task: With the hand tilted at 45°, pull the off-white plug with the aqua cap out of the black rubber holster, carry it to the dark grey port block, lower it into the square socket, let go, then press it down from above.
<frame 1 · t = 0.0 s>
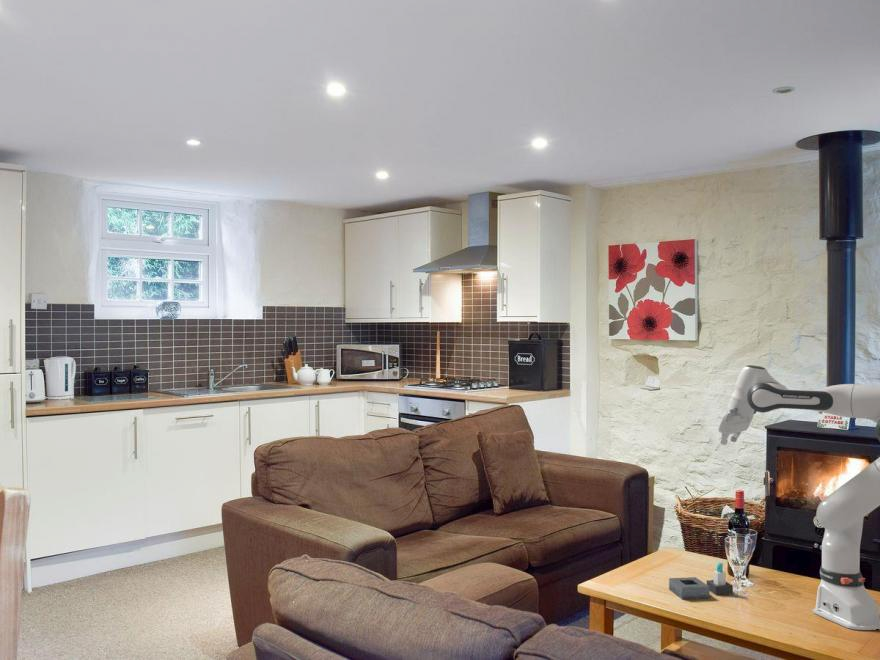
hand: (728, 442, 273), 52 cm above the table, tool tilted 20°, fingers open, 8 cm apart
holster: (719, 591, 267), on the table
plug: (719, 577, 267), in the holster
port block: (688, 593, 264), on the table
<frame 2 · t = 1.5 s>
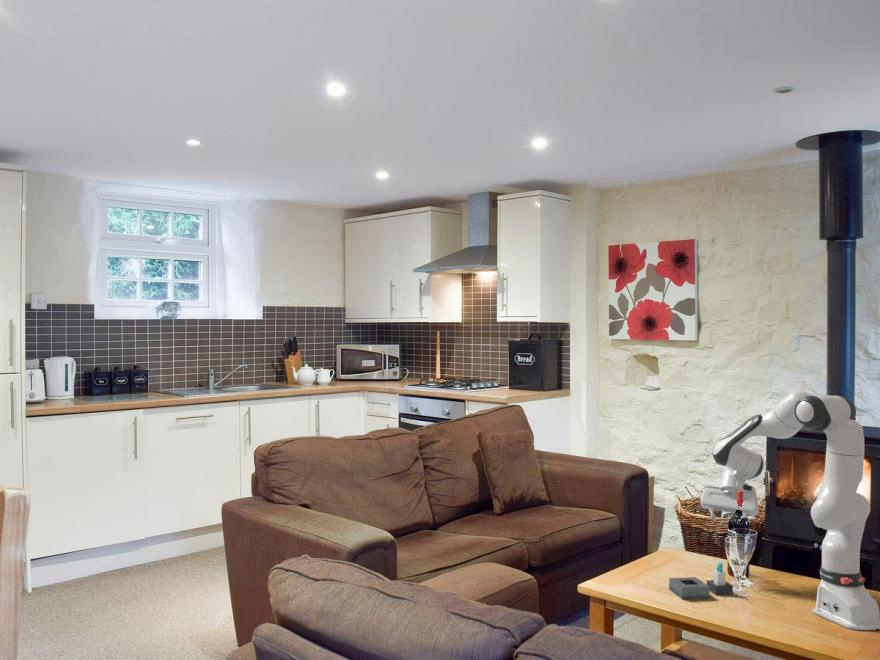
hand: (726, 520, 277), 22 cm above the table, tool tilted 45°, fingers open, 8 cm apart
nothing on the table moved.
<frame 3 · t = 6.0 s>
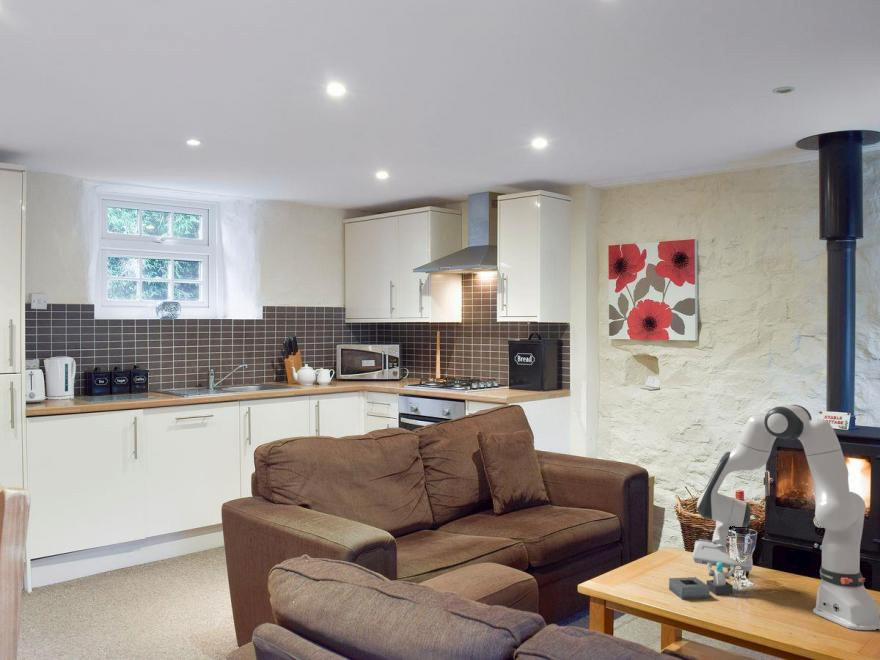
hand: (719, 576, 266), 5 cm above the table, tool tilted 45°, fingers closed on plug, 4 cm apart
plug: (719, 577, 267), in the holster, touching gripper
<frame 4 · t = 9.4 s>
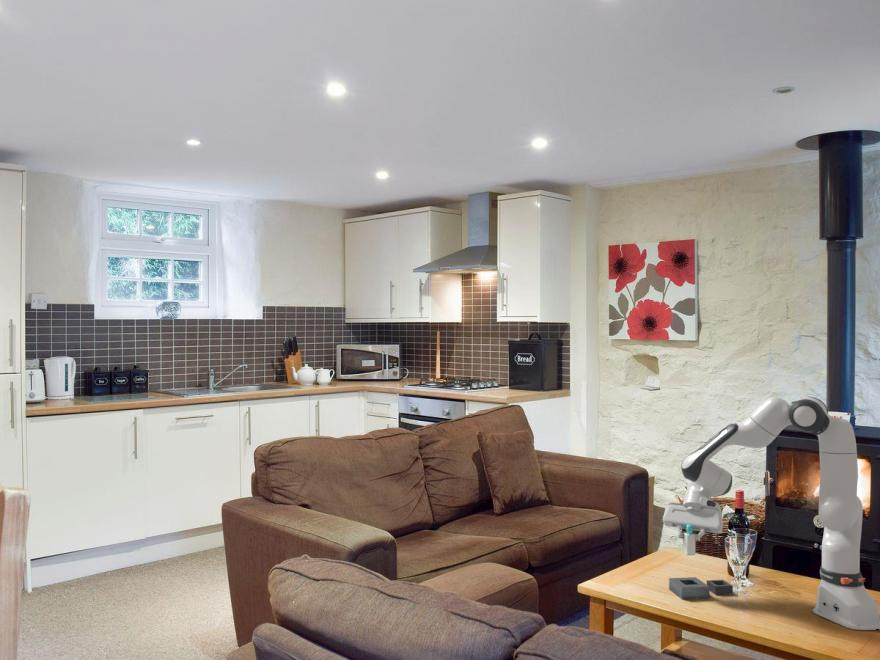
hand: (688, 538, 264), 19 cm above the table, tool tilted 45°, fingers closed on plug, 4 cm apart
plug: (689, 539, 264), point 19 cm above the table, touching gripper
when the fingers open (7 cm above the table, at t = 12.6 s): plug drops 1 cm, resting in port block.
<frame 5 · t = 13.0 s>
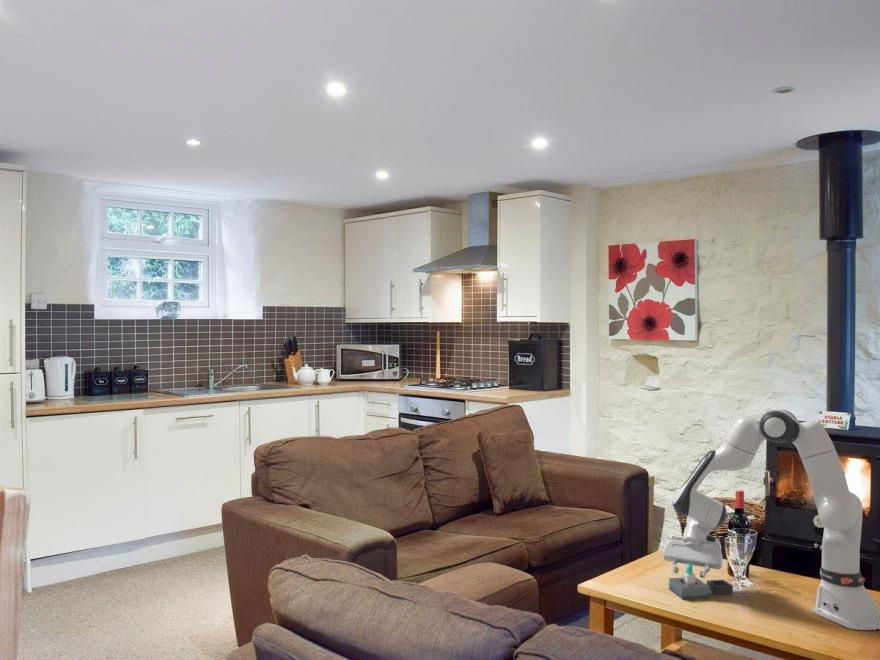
hand: (688, 574, 263), 7 cm above the table, tool tilted 45°, fingers open, 8 cm apart
plug: (689, 579, 264), in the port block
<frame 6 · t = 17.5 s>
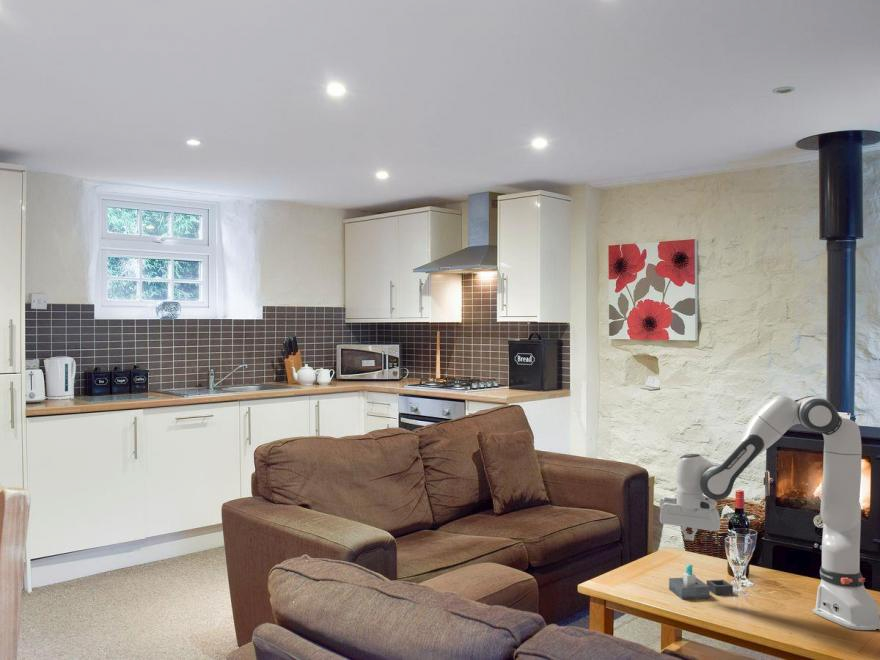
hand: (689, 539, 264), 19 cm above the table, tool pointing down, fingers closed
nothing on the table moved.
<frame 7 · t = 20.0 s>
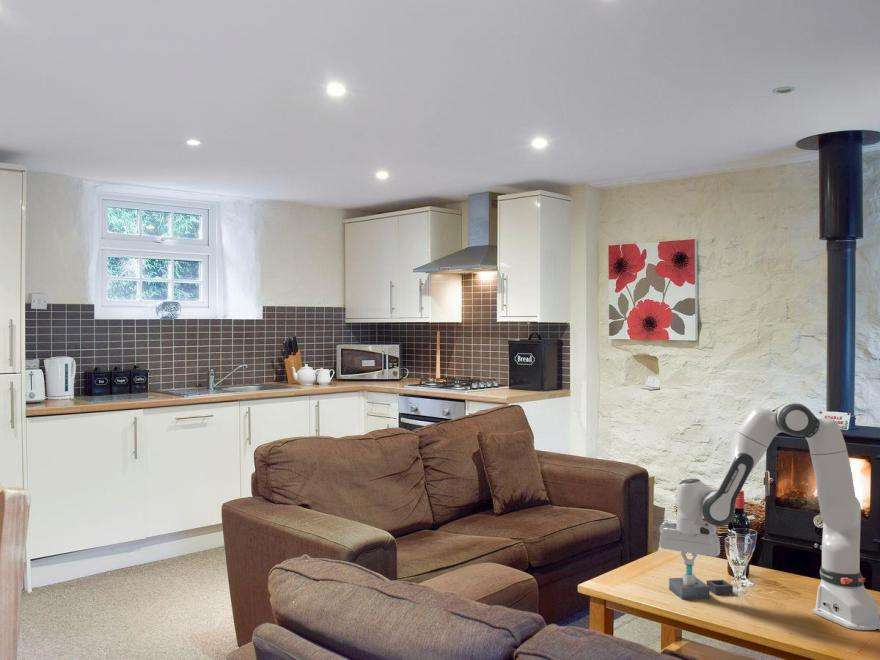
hand: (689, 564, 264), 10 cm above the table, tool pointing down, fingers closed
nothing on the table moved.
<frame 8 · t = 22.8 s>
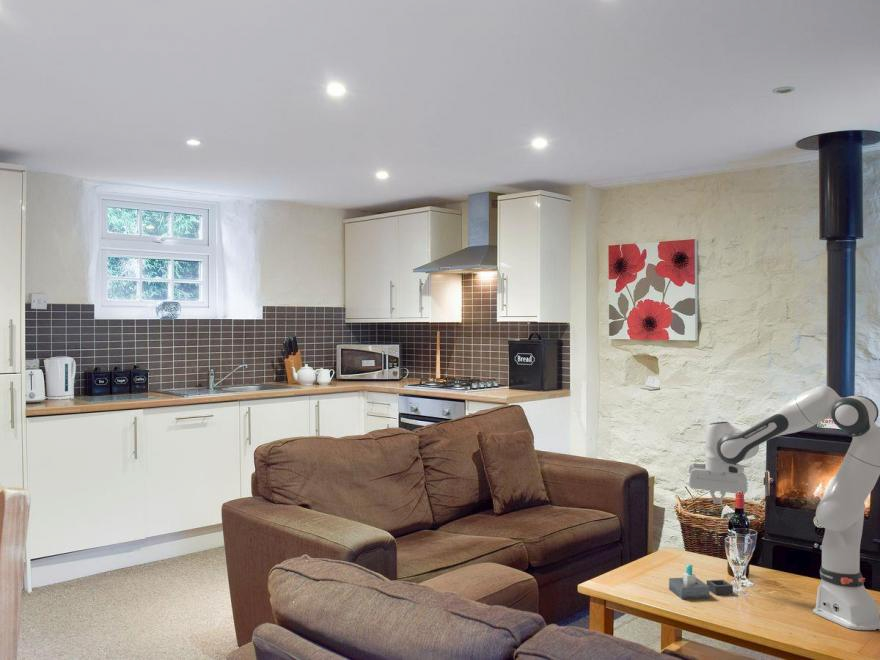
hand: (717, 503, 276), 29 cm above the table, tool pointing down, fingers closed
nothing on the table moved.
at the end: plug 0.1 cm off-centre on the port block, point 5.0 cm above the port block's base; plug tilted 0°; the gripper is holding nothing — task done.
